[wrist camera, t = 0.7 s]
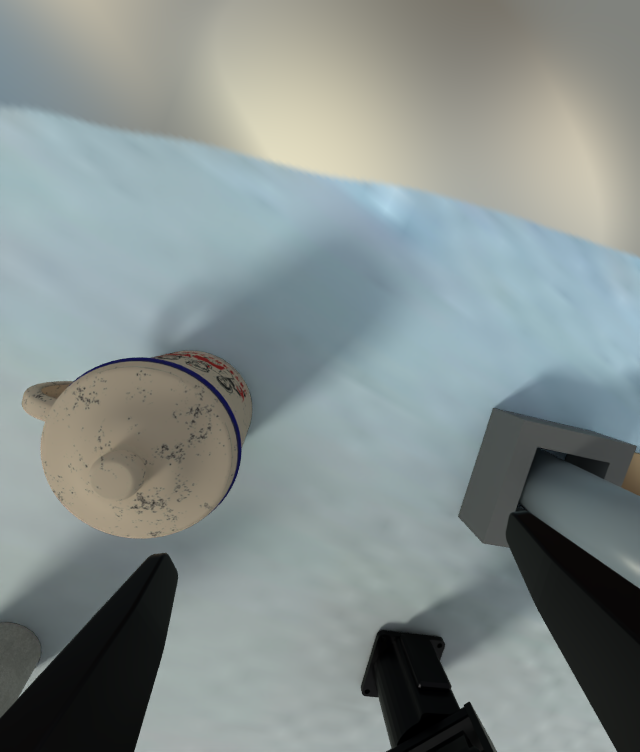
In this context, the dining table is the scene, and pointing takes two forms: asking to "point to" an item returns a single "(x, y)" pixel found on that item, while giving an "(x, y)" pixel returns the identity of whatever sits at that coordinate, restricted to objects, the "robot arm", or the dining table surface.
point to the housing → (513, 461)
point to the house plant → (16, 661)
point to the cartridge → (586, 512)
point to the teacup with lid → (143, 441)
